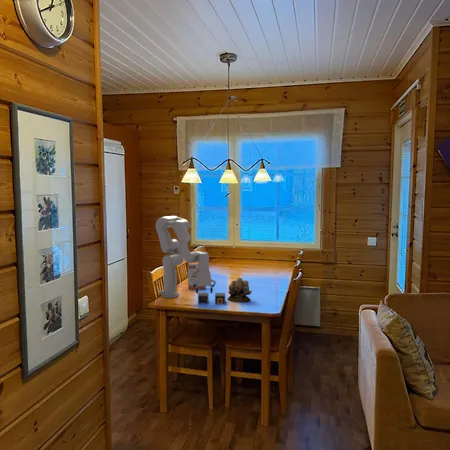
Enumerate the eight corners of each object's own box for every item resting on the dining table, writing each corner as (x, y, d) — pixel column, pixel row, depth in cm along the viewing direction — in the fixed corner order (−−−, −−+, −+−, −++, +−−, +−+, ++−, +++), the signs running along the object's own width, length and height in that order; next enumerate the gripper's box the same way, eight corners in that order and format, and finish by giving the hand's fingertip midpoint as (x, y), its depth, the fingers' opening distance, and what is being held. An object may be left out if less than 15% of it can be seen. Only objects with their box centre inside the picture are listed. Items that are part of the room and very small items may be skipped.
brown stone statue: (253, 299, 302) (253, 276, 300) (250, 303, 291) (250, 280, 289) (229, 297, 307) (229, 274, 305) (225, 301, 296) (225, 278, 294)
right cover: (215, 303, 289) (215, 295, 288) (215, 301, 296) (215, 292, 295) (224, 304, 289) (225, 295, 288) (225, 301, 296) (225, 293, 295)
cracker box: (188, 289, 327) (188, 263, 325) (187, 287, 333) (187, 262, 331) (206, 288, 330) (206, 263, 328) (205, 287, 336) (205, 261, 334)
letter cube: (217, 303, 290) (217, 298, 289) (217, 302, 294) (217, 296, 293) (222, 303, 289) (222, 298, 289) (223, 302, 294) (223, 296, 293)
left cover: (198, 303, 289) (198, 295, 288) (198, 300, 296) (198, 292, 295) (207, 303, 289) (207, 295, 288) (208, 301, 296) (208, 292, 295)
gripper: (190, 270, 286) (191, 294, 288) (215, 270, 286) (216, 294, 287) (192, 268, 294) (192, 292, 295) (216, 268, 293) (216, 291, 295)
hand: (204, 293), depth 291 cm, fingers open, 9 cm apart
